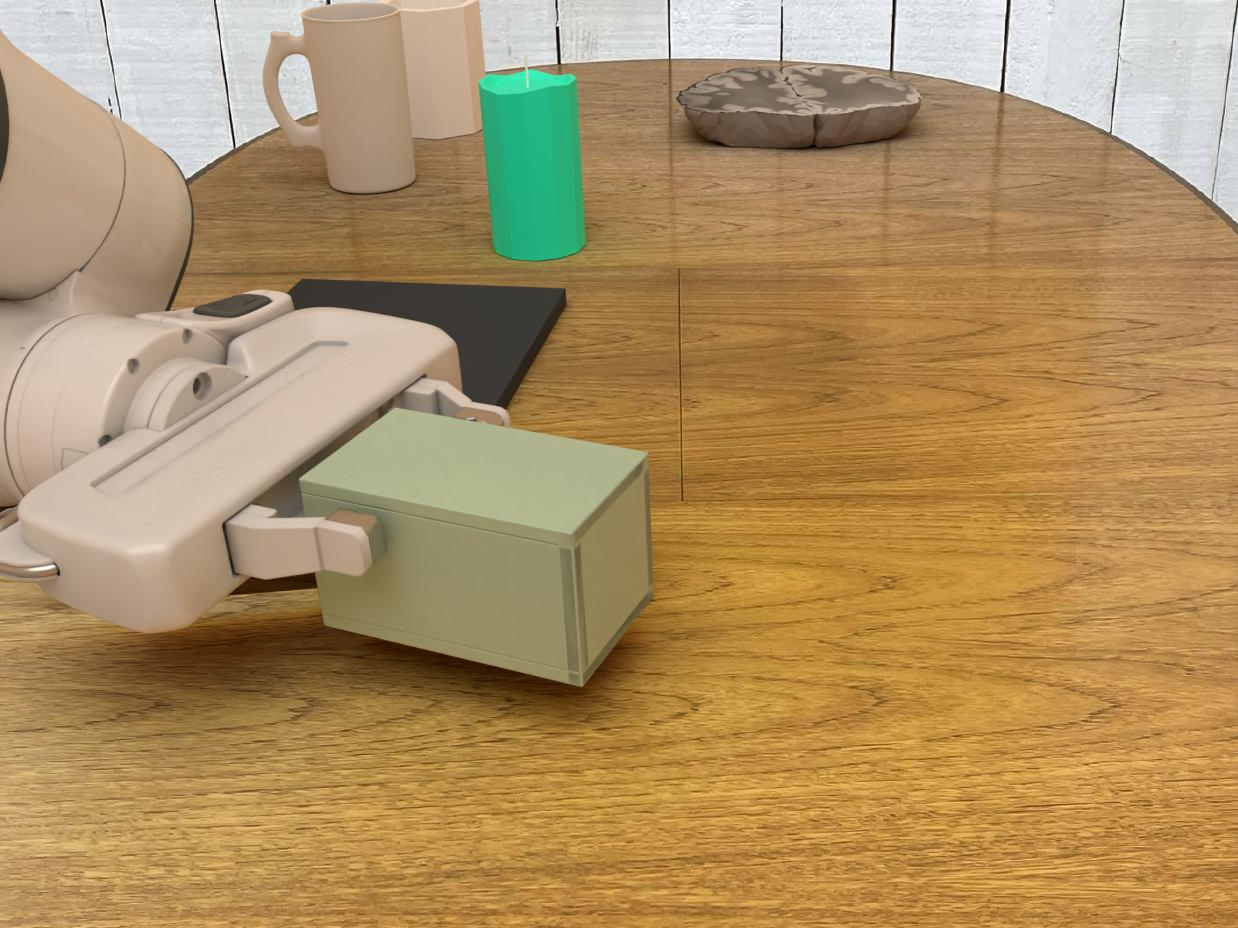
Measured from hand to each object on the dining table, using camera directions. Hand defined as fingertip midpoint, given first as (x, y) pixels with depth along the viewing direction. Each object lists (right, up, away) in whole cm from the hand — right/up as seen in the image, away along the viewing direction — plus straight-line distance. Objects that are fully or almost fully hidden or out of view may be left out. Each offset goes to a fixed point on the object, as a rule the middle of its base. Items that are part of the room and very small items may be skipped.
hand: (443, 487), depth 53 cm
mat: (-7, +8, +24) cm, 26 cm away
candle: (-1, +17, +39) cm, 42 cm away
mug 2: (-14, +32, +65) cm, 74 cm away
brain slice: (+17, +31, +64) cm, 73 cm away
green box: (+1, -2, 0) cm, 2 cm away
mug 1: (-16, +24, +51) cm, 59 cm away
